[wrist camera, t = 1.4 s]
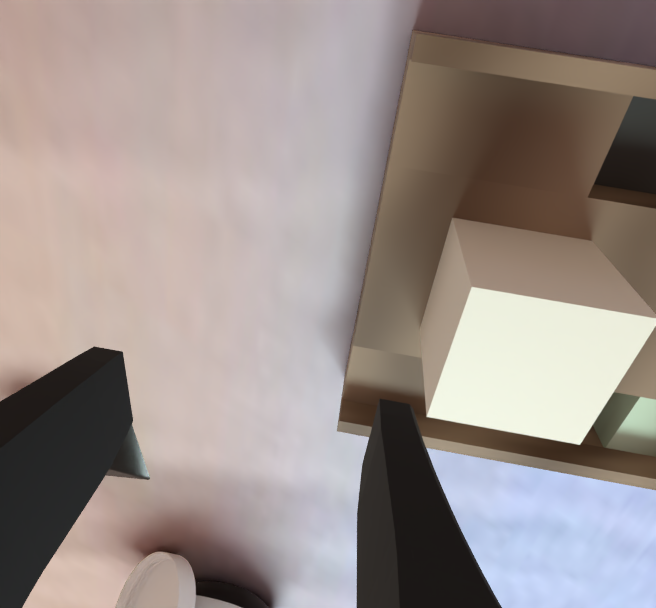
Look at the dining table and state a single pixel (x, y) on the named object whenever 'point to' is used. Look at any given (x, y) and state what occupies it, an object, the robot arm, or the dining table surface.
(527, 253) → the cream block
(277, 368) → the dining table surface
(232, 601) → the spread jar
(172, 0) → the dining table surface
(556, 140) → the brown shallow open box
